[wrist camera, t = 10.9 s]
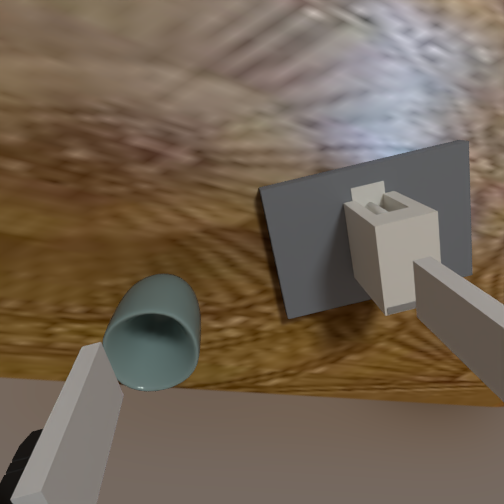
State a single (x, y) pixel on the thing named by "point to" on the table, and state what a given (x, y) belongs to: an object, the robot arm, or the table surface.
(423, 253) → the housing
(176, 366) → the cup
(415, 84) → the table surface
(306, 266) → the board
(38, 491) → the robot arm
